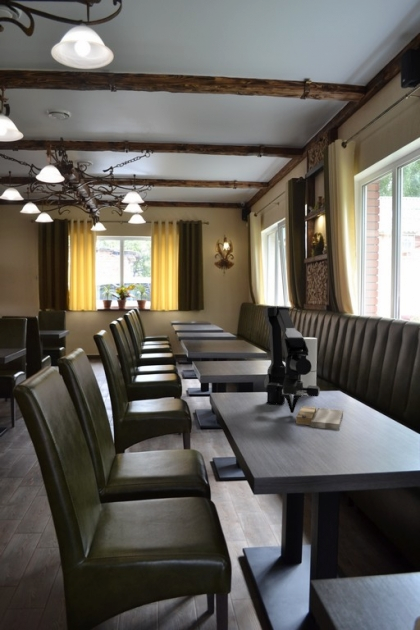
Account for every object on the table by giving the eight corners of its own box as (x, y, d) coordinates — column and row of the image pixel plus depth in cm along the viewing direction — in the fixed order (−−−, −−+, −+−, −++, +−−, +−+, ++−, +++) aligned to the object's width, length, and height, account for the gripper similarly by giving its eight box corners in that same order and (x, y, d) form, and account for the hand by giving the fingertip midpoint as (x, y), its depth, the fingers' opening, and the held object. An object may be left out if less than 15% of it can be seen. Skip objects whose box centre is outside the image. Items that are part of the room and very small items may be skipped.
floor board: (311, 426, 157) (311, 421, 157) (317, 412, 176) (318, 407, 175) (339, 429, 154) (339, 423, 154) (342, 415, 173) (343, 410, 173)
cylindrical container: (314, 393, 212) (316, 337, 211) (316, 396, 204) (318, 339, 203) (298, 392, 212) (300, 337, 211) (300, 395, 205) (301, 338, 204)
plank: (302, 412, 175) (302, 404, 175) (315, 413, 174) (316, 406, 174) (296, 424, 160) (296, 415, 159) (311, 425, 158) (311, 417, 158)
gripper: (263, 371, 166) (262, 415, 167) (317, 375, 160) (315, 420, 161) (269, 367, 177) (268, 408, 177) (320, 370, 171) (319, 413, 172)
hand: (292, 412), depth 172 cm, fingers closed
